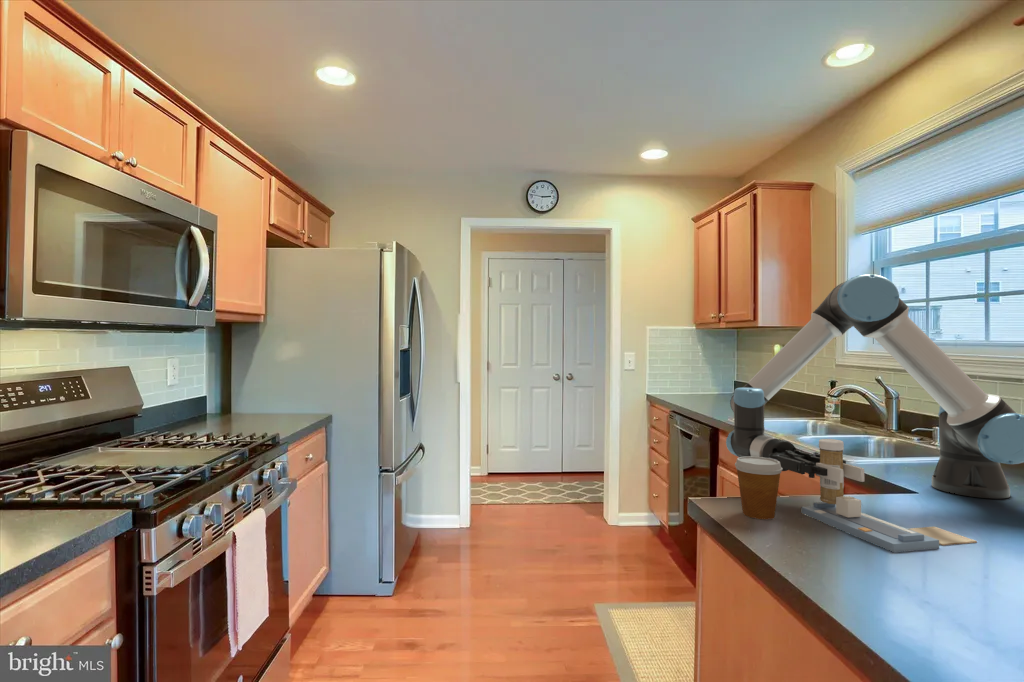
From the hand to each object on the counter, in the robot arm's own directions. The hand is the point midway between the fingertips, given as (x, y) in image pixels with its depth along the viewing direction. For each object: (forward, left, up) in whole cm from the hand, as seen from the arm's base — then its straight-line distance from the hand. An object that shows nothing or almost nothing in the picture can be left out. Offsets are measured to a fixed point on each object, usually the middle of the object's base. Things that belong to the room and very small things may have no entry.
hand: (852, 475), depth 105 cm
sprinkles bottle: (0, -5, -7) cm, 9 cm away
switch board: (-1, +2, -10) cm, 11 cm away
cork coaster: (-12, +8, -10) cm, 18 cm away
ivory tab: (-1, -2, -9) cm, 9 cm away
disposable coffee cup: (+14, -10, -11) cm, 21 cm away
